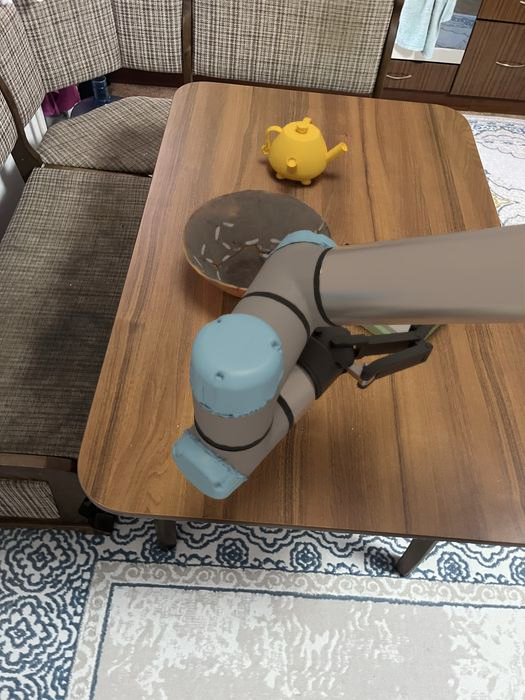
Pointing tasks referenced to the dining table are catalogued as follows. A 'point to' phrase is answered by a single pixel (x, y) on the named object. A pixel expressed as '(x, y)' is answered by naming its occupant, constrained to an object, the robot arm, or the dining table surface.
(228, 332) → the robot arm
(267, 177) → the dining table surface
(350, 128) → the dining table surface
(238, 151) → the dining table surface
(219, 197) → the bowl
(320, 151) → the teapot
